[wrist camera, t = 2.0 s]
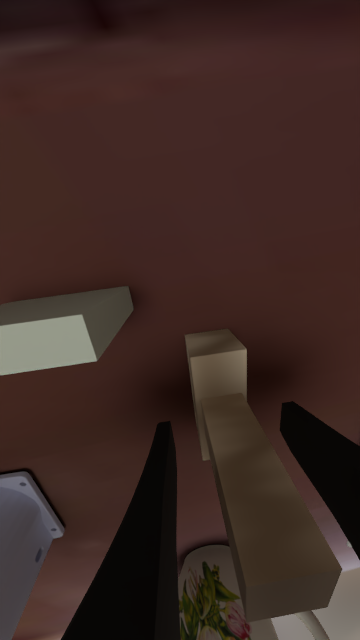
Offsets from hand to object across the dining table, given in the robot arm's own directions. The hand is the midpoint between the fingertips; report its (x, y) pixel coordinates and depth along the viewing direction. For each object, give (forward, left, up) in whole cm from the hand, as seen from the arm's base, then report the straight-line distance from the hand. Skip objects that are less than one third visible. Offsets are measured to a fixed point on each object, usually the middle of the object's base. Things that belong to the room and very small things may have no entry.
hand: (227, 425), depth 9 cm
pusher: (0, 0, -4) cm, 4 cm away
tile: (+7, +8, -4) cm, 11 cm away
